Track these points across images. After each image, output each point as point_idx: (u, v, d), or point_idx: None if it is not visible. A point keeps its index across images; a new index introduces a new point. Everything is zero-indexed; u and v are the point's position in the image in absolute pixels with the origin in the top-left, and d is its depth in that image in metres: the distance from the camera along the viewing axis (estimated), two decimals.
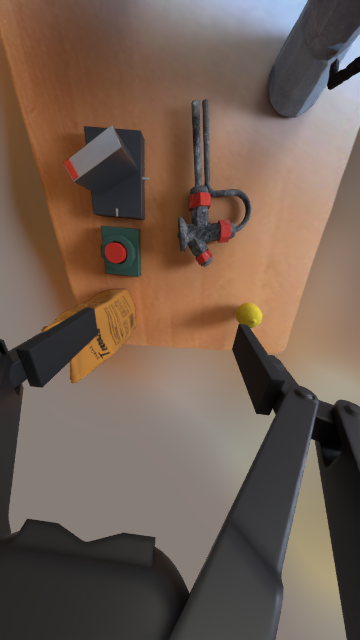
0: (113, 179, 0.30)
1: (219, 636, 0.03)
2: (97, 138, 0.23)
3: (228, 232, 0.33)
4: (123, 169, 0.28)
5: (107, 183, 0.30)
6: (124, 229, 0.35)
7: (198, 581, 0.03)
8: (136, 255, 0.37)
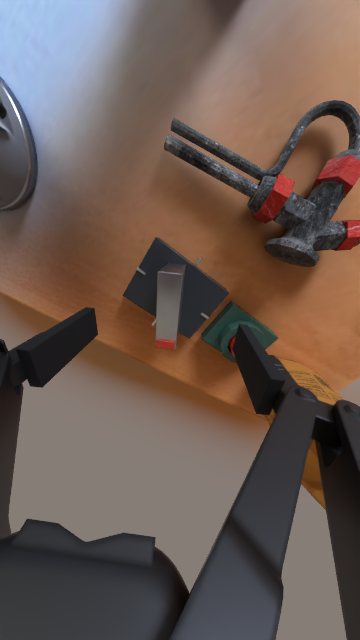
0: None
1: (219, 636, 0.03)
2: (158, 297, 0.17)
3: (358, 167, 0.17)
4: (183, 283, 0.22)
5: None
6: (223, 318, 0.27)
7: (198, 581, 0.03)
8: (256, 324, 0.27)
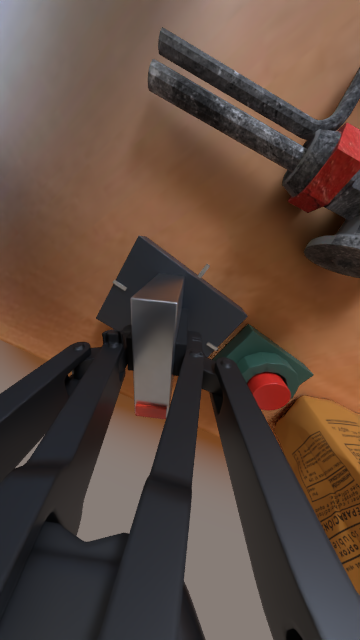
0: None
1: (149, 567, 0.03)
2: (135, 340, 0.10)
3: None
4: None
5: None
6: (237, 349, 0.19)
7: (126, 545, 0.03)
8: (284, 357, 0.19)
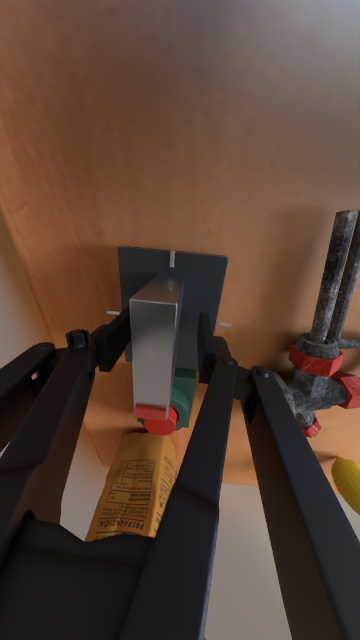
0: None
1: (172, 579, 0.03)
2: (134, 342, 0.09)
3: None
4: (180, 306, 0.14)
5: (177, 341, 0.16)
6: (174, 378, 0.22)
7: (151, 549, 0.03)
8: (189, 407, 0.24)
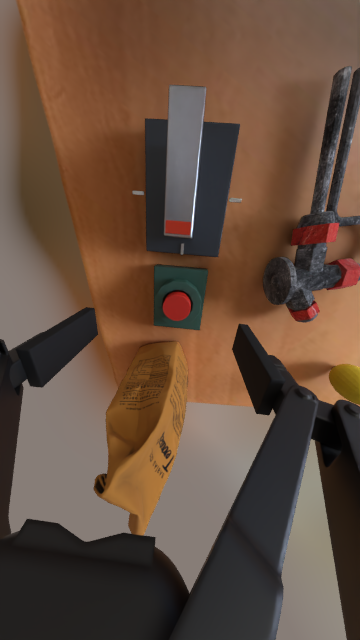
0: None
1: (219, 636, 0.03)
2: (170, 137, 0.12)
3: (354, 279, 0.22)
4: None
5: (195, 207, 0.19)
6: (188, 271, 0.24)
7: (198, 581, 0.03)
8: (201, 304, 0.26)
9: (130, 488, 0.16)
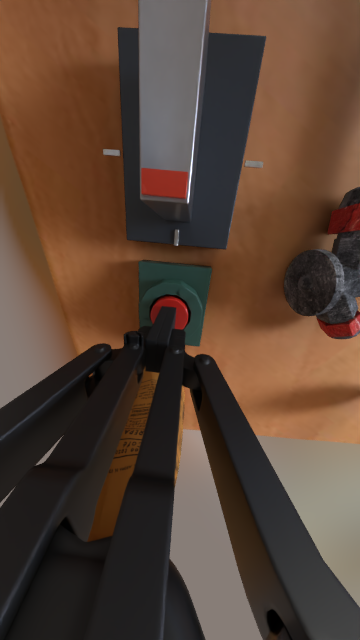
0: (197, 147, 0.12)
1: (134, 563, 0.03)
2: None
3: None
4: (203, 82, 0.10)
5: (195, 170, 0.12)
6: (185, 268, 0.18)
7: (109, 548, 0.03)
8: (202, 313, 0.20)
9: None
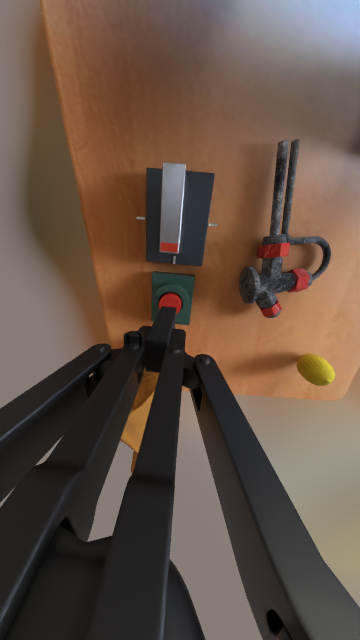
0: None
1: (134, 563, 0.03)
2: (163, 191, 0.19)
3: (305, 284, 0.28)
4: (185, 198, 0.23)
5: (183, 230, 0.25)
6: (179, 277, 0.31)
7: (109, 547, 0.03)
8: (190, 303, 0.33)
9: (133, 435, 0.21)
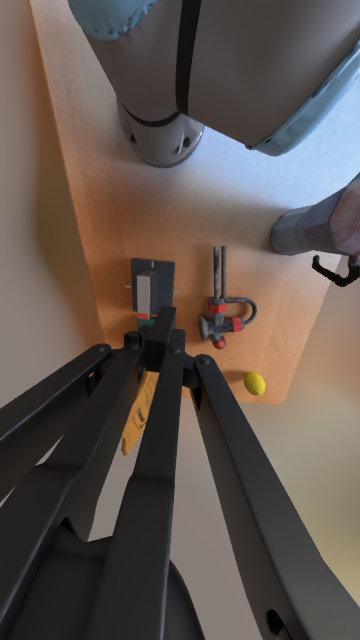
0: (155, 292, 0.39)
1: (134, 563, 0.03)
2: (138, 288, 0.33)
3: (239, 328, 0.42)
4: (155, 281, 0.37)
5: (155, 297, 0.39)
6: None
7: (109, 547, 0.03)
8: None
9: None
